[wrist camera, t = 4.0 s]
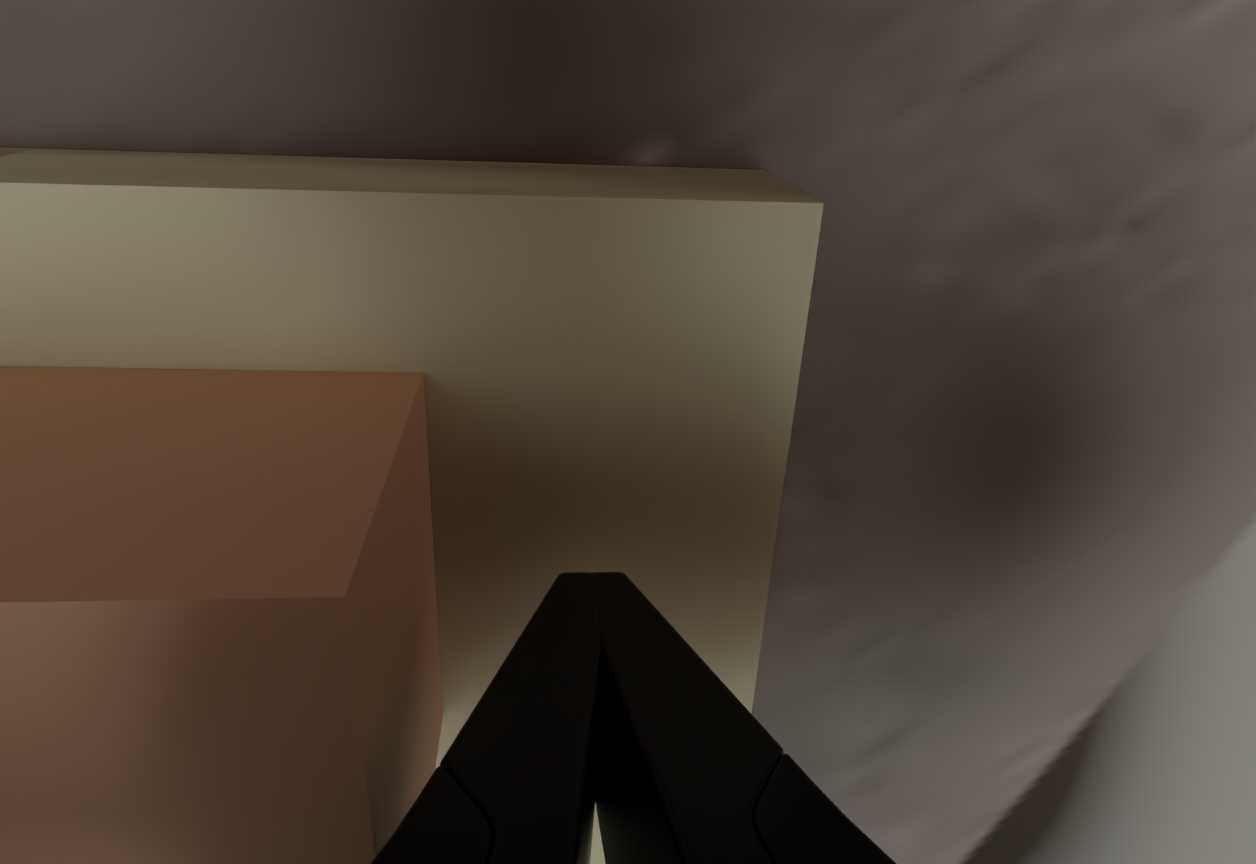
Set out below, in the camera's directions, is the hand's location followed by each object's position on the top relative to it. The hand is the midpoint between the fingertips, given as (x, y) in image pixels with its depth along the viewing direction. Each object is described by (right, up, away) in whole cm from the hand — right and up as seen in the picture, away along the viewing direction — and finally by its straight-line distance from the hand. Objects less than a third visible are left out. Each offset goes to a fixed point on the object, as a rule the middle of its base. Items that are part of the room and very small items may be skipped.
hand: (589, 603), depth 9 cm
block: (-4, 0, 0) cm, 4 cm away
